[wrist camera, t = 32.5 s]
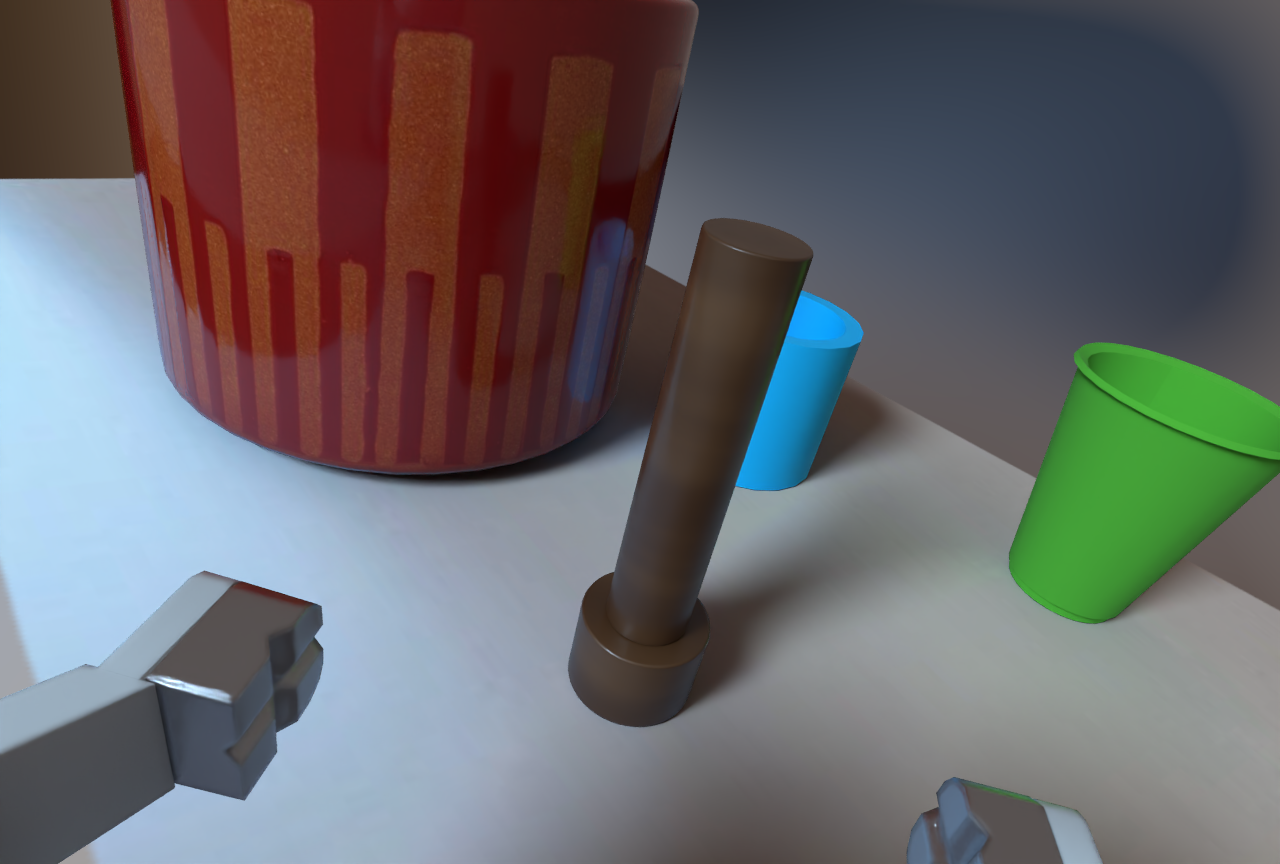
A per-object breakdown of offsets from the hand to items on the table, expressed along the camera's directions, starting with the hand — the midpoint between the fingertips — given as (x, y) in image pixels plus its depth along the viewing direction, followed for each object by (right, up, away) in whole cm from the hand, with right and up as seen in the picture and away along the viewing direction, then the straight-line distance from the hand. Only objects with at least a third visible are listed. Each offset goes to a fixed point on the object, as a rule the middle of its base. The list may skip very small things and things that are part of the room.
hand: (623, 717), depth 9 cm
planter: (-13, +7, +32) cm, 35 cm away
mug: (+7, +3, +33) cm, 34 cm away
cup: (+21, -4, +27) cm, 34 cm away
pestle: (0, -5, +17) cm, 18 cm away
